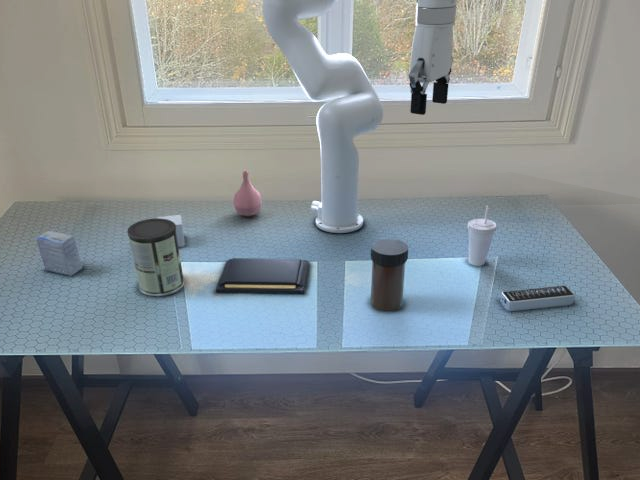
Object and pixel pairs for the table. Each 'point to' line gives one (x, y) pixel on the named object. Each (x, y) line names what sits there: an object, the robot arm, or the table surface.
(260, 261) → the wallet
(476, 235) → the smoothie
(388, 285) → the jar
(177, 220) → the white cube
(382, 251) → the lid
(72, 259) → the medicine box
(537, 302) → the multiport hub
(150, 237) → the coffee can
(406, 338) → the table surface
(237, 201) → the pink teardrop shaped piece
